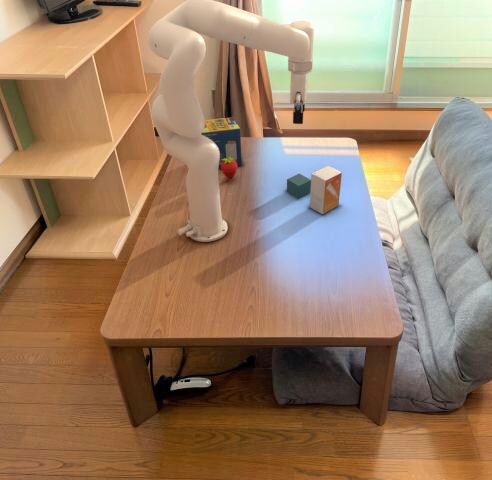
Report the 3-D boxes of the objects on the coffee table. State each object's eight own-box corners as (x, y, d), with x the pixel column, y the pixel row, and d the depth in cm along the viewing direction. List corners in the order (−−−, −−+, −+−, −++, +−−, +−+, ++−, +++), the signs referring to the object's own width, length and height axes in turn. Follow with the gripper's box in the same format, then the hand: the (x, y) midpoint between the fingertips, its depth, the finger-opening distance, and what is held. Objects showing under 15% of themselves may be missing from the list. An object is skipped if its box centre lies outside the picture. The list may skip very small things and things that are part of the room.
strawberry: (221, 185, 174) (219, 160, 168) (222, 174, 180) (220, 150, 174) (238, 184, 175) (236, 159, 168) (238, 174, 181) (237, 149, 174)
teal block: (298, 198, 168) (298, 185, 165) (286, 191, 172) (286, 179, 168) (310, 192, 171) (311, 179, 168) (298, 185, 175) (299, 173, 172)
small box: (323, 215, 160) (325, 180, 152) (309, 207, 164) (310, 173, 156) (339, 205, 165) (342, 172, 157) (325, 198, 168) (327, 164, 160)
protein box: (197, 158, 190) (193, 121, 180) (236, 153, 193) (234, 116, 184) (202, 171, 182) (198, 133, 172) (242, 165, 186) (240, 127, 176)
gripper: (290, 55, 158) (289, 106, 169) (285, 74, 144) (285, 128, 155) (313, 56, 158) (311, 107, 168) (311, 75, 144) (309, 129, 155)
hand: (298, 117), depth 162 cm, fingers open, 9 cm apart
